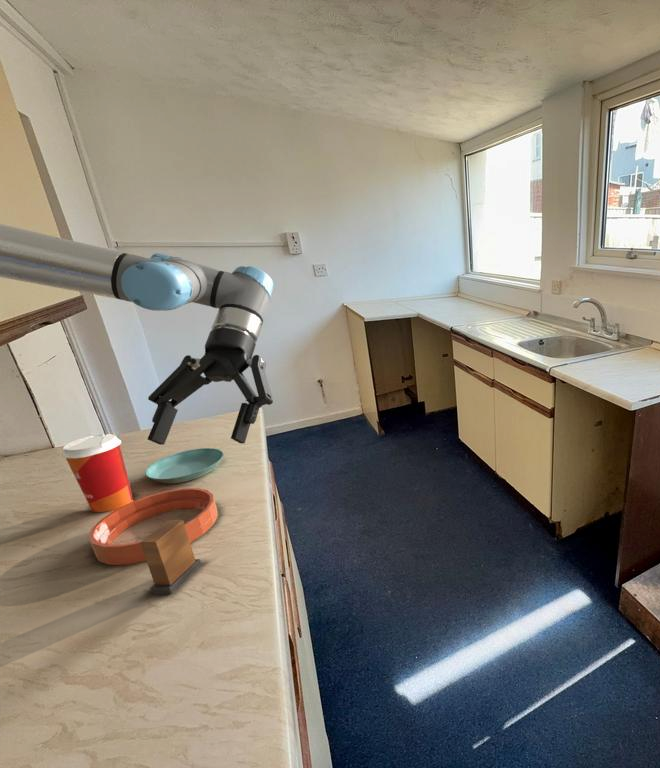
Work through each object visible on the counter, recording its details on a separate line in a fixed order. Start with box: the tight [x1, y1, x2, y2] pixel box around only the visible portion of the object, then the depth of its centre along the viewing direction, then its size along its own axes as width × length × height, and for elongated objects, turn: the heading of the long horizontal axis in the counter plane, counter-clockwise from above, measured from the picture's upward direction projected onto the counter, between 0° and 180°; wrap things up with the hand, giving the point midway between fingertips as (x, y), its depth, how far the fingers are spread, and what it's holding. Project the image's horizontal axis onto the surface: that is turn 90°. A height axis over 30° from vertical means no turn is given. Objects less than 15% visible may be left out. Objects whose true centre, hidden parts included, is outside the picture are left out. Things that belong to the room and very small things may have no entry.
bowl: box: [87, 487, 219, 566], centre depth 73 cm, size 17×17×4 cm
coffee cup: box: [61, 433, 134, 513], centre depth 80 cm, size 8×8×15 cm
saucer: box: [144, 447, 224, 484], centre depth 95 cm, size 15×15×3 cm
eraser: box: [139, 519, 202, 595], centre depth 61 cm, size 6×3×10 cm, turn 179°
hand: (196, 441), depth 67 cm, fingers open, 13 cm apart
